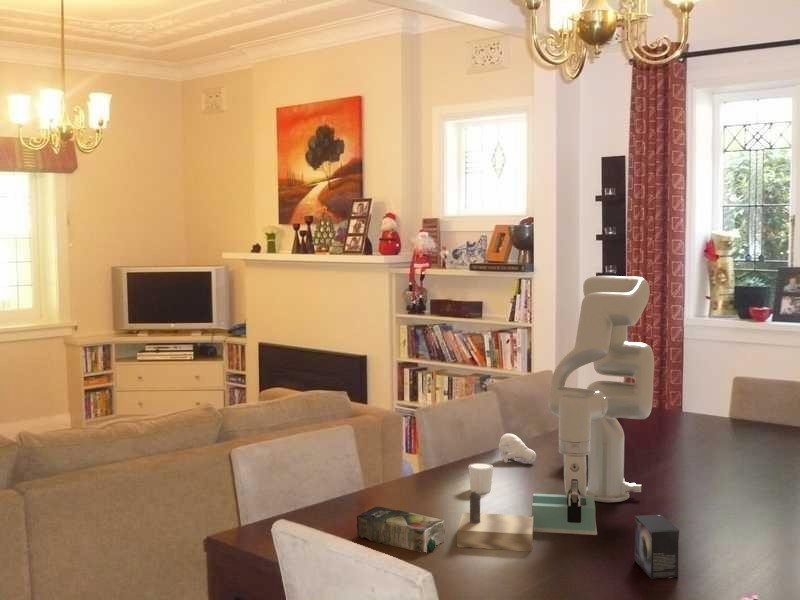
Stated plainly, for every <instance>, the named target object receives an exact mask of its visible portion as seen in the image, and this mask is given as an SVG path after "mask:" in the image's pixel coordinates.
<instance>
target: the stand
mask: <svg viewBox="0 0 800 600" xmlns="http://www.w3.org/2000/svg"><path fill="white" fill-rule="evenodd" d="M533 525H534V516H532V515H522V514H521V515H520V514H518V515H517V514H501V513H499V514H498V513H483V512H482V513H481V493H478V492H476V491H474V492H472V491H471V493H470V494H469V512H462V515H461V517H460V521H459V524H458V527H457V530H456V532H457V533H456V536H457V537H456V538H457V539H456V544H457V545H456V546H458V547H457V548H464V547H472V548H471V549H482V548H487V549H486V550H499V549H502V551H503V550H504V551H518V552H519V551H520V552H521V551H522V552H533V541H534V532H533V531H534V528H533Z"/></svg>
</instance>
